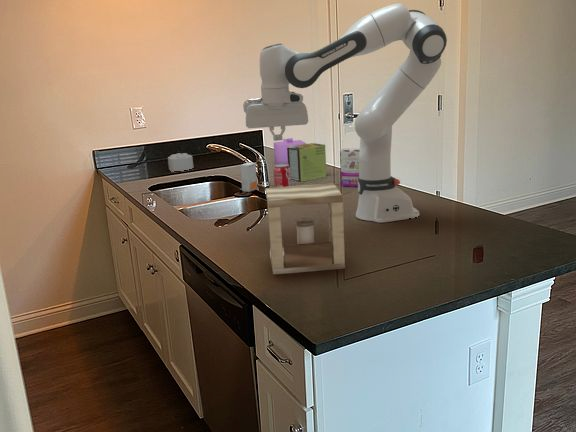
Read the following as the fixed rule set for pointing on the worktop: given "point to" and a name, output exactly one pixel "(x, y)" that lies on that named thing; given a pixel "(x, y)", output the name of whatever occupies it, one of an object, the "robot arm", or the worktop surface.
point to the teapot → (284, 150)
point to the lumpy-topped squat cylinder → (180, 162)
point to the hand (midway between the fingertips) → (278, 140)
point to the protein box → (307, 161)
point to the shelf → (310, 253)
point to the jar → (305, 230)
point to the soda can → (282, 175)
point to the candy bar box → (349, 167)
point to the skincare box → (248, 177)
